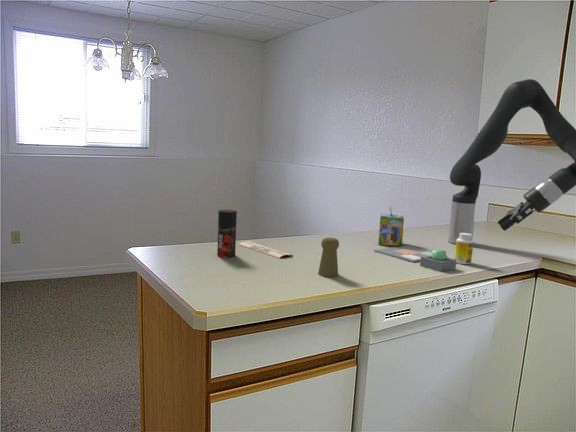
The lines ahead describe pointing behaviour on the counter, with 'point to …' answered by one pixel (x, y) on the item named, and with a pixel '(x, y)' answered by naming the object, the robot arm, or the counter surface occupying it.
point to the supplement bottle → (464, 248)
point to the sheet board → (405, 253)
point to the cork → (329, 258)
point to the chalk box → (391, 230)
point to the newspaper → (263, 249)
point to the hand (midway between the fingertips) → (500, 226)
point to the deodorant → (226, 233)
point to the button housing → (438, 263)
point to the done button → (439, 255)
